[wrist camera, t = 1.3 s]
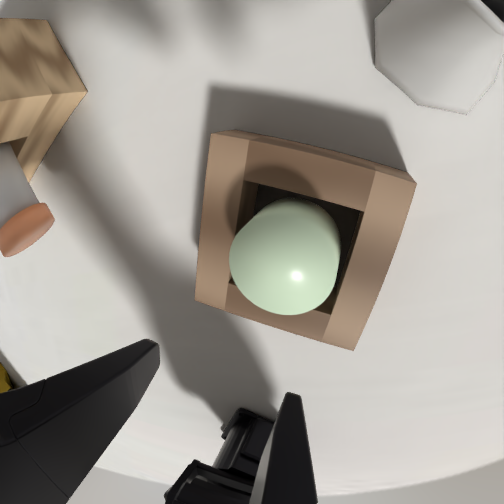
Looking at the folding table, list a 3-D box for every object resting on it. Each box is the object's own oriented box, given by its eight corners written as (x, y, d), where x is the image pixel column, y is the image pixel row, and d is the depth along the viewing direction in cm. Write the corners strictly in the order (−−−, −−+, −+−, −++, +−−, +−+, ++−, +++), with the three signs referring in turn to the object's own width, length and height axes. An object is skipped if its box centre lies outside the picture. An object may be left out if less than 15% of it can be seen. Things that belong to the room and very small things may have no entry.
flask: (472, 137, 14) (576, 171, 5) (353, 76, 15) (345, 27, 6) (506, 32, 10) (604, -11, 1) (390, -28, 11) (403, -136, 2)
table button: (327, 295, 18) (319, 327, 15) (243, 270, 19) (223, 296, 16) (352, 212, 16) (350, 233, 13) (257, 187, 17) (236, 202, 14)
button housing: (356, 321, 20) (353, 351, 18) (214, 277, 22) (194, 300, 20) (407, 172, 16) (416, 183, 13) (233, 129, 18) (210, 133, 15)
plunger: (63, 208, 20) (11, 233, 16) (42, 239, 22) (-3, 265, 18) (19, 124, 18) (-32, 137, 14) (2, 162, 21) (-42, 178, 17)
